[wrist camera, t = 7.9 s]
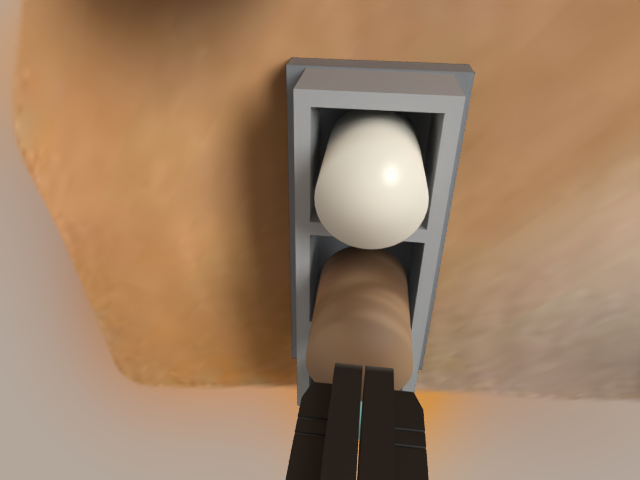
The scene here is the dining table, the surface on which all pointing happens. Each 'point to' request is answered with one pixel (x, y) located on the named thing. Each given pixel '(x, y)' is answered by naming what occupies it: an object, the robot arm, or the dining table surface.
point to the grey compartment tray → (308, 153)
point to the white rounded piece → (372, 180)
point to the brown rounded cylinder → (361, 316)
